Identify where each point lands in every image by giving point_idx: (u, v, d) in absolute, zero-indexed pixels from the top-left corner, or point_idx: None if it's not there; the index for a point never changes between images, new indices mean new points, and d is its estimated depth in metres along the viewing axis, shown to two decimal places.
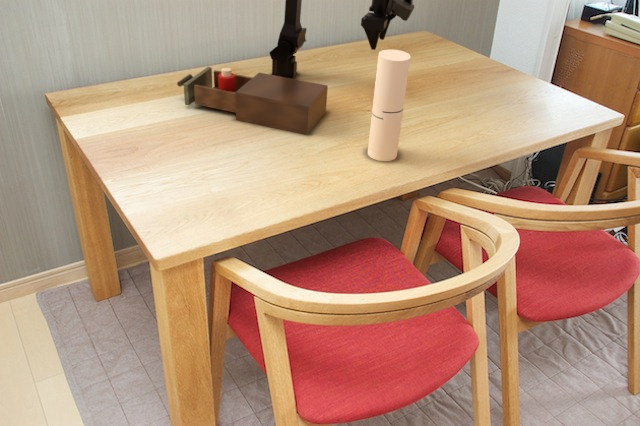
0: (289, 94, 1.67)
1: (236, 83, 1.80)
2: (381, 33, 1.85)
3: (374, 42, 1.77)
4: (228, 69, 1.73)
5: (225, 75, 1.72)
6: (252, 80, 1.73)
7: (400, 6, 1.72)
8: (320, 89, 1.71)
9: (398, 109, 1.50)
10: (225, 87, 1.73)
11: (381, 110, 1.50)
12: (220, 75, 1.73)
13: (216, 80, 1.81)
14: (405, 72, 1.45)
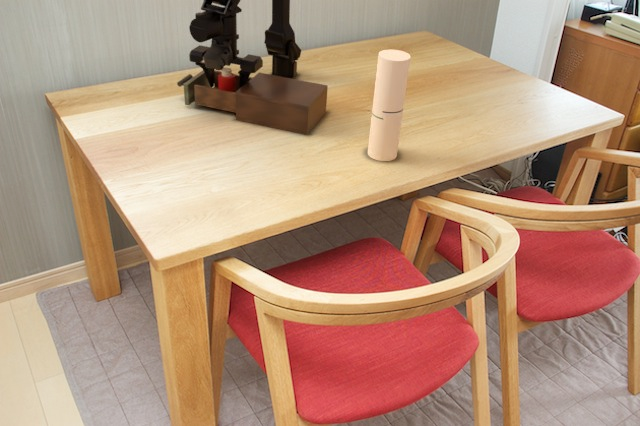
0: (289, 94, 1.67)
1: (236, 83, 1.80)
2: None
3: None
4: (228, 69, 1.73)
5: (225, 75, 1.72)
6: (252, 80, 1.73)
7: None
8: (320, 89, 1.71)
9: (398, 109, 1.50)
10: (225, 87, 1.73)
11: (381, 110, 1.50)
12: (220, 75, 1.73)
13: (216, 80, 1.81)
14: (405, 72, 1.45)
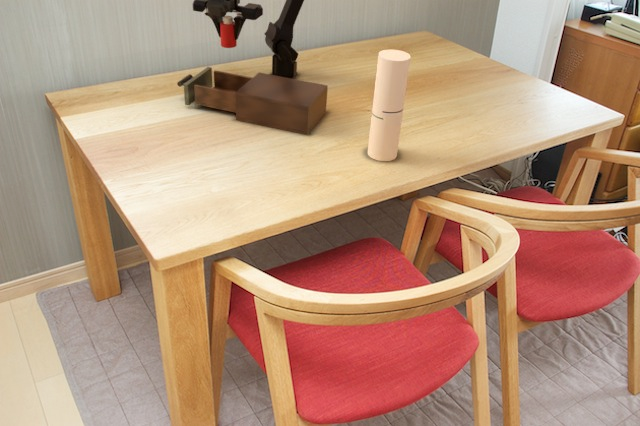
0: (289, 94, 1.67)
1: (236, 83, 1.80)
2: None
3: None
4: (229, 17, 1.81)
5: (227, 22, 1.80)
6: (252, 80, 1.73)
7: None
8: (320, 89, 1.71)
9: (398, 109, 1.50)
10: (227, 35, 1.81)
11: (381, 110, 1.50)
12: (222, 23, 1.81)
13: (216, 80, 1.81)
14: (405, 72, 1.45)
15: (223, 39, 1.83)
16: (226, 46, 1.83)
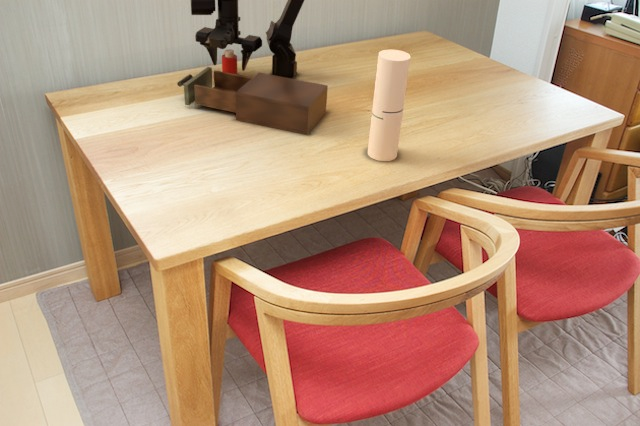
0: (289, 94, 1.67)
1: (236, 83, 1.80)
2: None
3: None
4: (231, 50, 1.90)
5: (228, 56, 1.89)
6: (252, 80, 1.73)
7: None
8: (320, 89, 1.71)
9: (398, 109, 1.50)
10: (228, 67, 1.90)
11: (381, 110, 1.50)
12: (223, 56, 1.90)
13: (216, 80, 1.81)
14: (405, 72, 1.45)
15: (224, 71, 1.92)
16: None
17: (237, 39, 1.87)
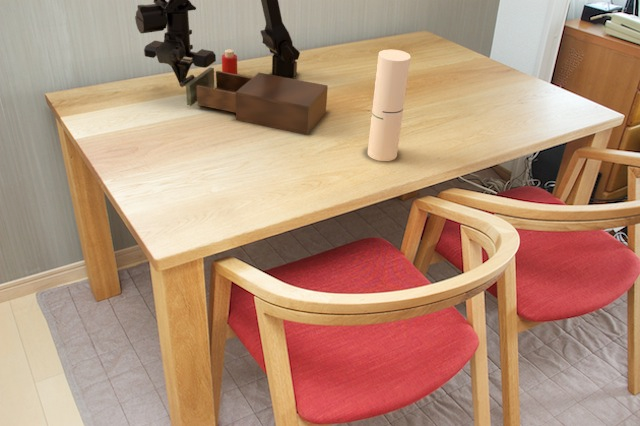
0: (289, 94, 1.67)
1: (238, 83, 1.80)
2: None
3: None
4: (231, 50, 1.90)
5: (228, 56, 1.89)
6: (252, 80, 1.73)
7: None
8: (320, 89, 1.71)
9: (398, 109, 1.50)
10: (228, 67, 1.90)
11: (381, 110, 1.50)
12: (223, 56, 1.90)
13: (218, 80, 1.81)
14: (405, 71, 1.45)
15: (224, 71, 1.92)
16: None
17: (188, 54, 1.73)
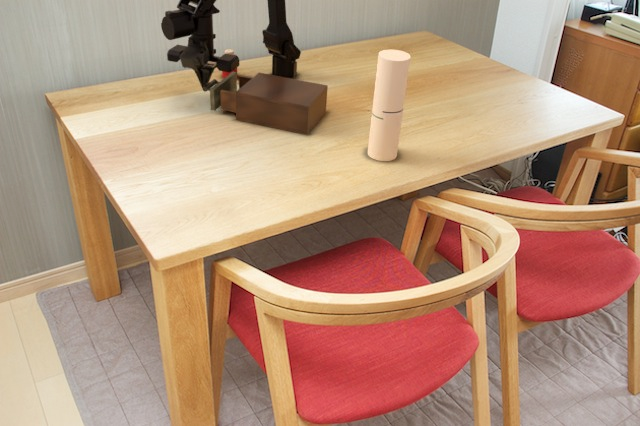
0: (289, 94, 1.67)
1: None
2: None
3: None
4: (231, 50, 1.90)
5: None
6: (252, 80, 1.73)
7: None
8: (320, 89, 1.71)
9: (398, 109, 1.50)
10: None
11: (381, 110, 1.50)
12: None
13: (241, 85, 1.80)
14: (405, 71, 1.45)
15: None
16: None
17: (212, 58, 1.72)
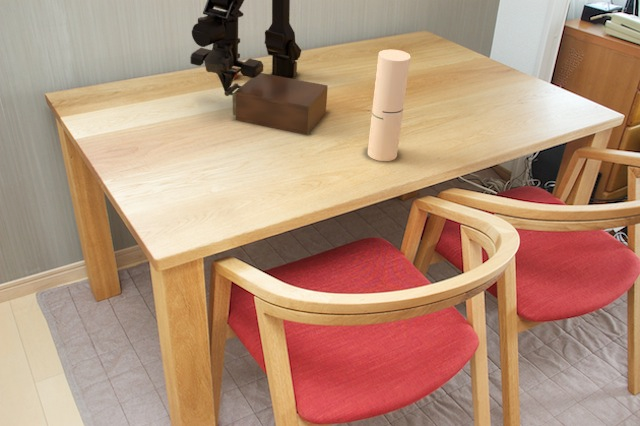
0: (289, 94, 1.67)
1: None
2: None
3: None
4: None
5: None
6: (252, 80, 1.73)
7: None
8: (320, 89, 1.71)
9: (398, 109, 1.50)
10: None
11: (381, 110, 1.50)
12: None
13: None
14: (405, 72, 1.45)
15: None
16: None
17: (236, 63, 1.70)
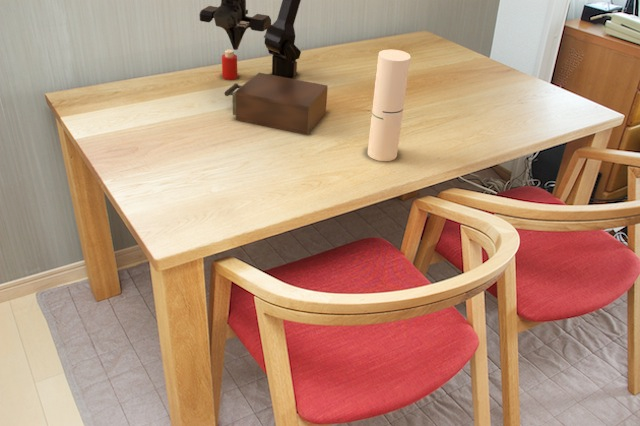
0: (289, 94, 1.67)
1: None
2: None
3: None
4: (231, 50, 1.90)
5: (228, 56, 1.89)
6: (252, 80, 1.73)
7: None
8: (320, 89, 1.71)
9: (398, 109, 1.50)
10: (228, 67, 1.90)
11: (381, 110, 1.50)
12: (223, 56, 1.90)
13: None
14: (405, 72, 1.45)
15: (224, 71, 1.92)
16: (227, 78, 1.92)
17: (244, 18, 1.74)
